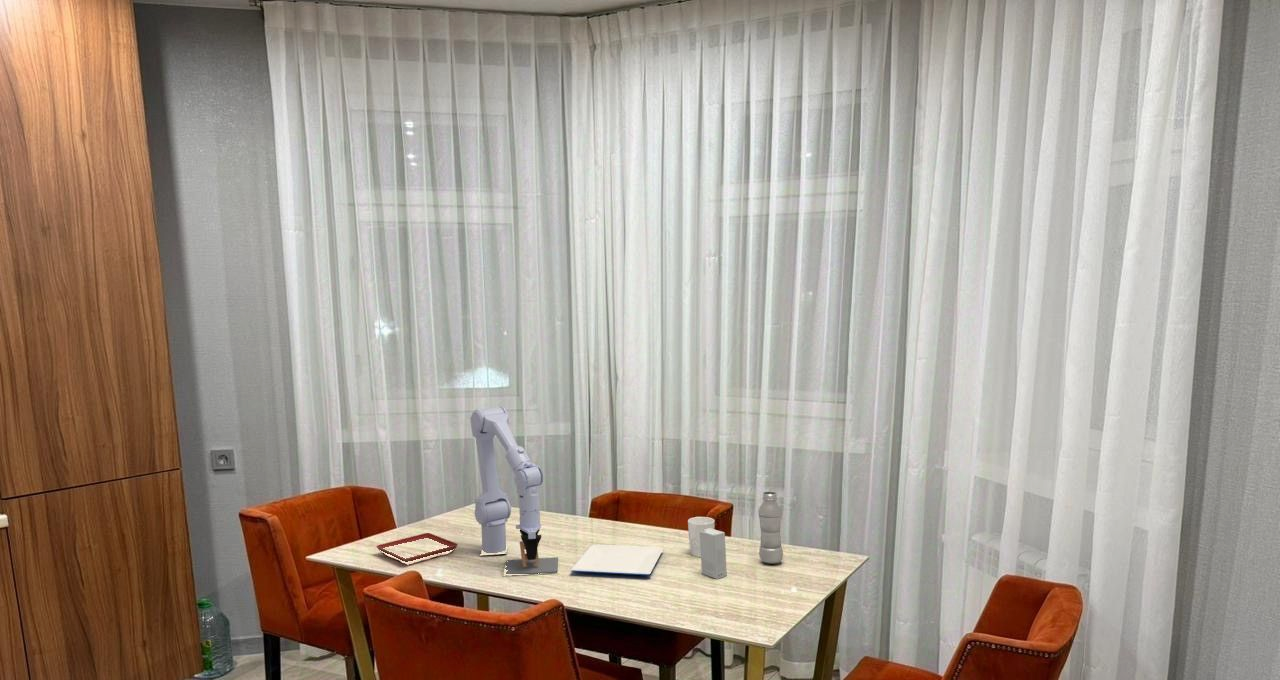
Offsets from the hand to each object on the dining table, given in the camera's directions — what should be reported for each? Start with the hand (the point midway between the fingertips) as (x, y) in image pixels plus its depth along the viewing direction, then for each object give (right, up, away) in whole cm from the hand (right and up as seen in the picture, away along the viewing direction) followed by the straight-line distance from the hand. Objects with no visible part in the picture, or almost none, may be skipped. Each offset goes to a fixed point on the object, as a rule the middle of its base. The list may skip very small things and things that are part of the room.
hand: (531, 556), depth 214 cm
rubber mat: (0, -3, 0) cm, 3 cm away
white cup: (+49, -2, +9) cm, 50 cm away
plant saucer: (-37, -4, +15) cm, 40 cm away
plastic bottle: (+68, -2, 0) cm, 68 cm away
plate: (+25, -3, +2) cm, 25 cm away
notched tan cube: (0, -2, 0) cm, 2 cm away
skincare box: (+51, -3, -9) cm, 52 cm away
